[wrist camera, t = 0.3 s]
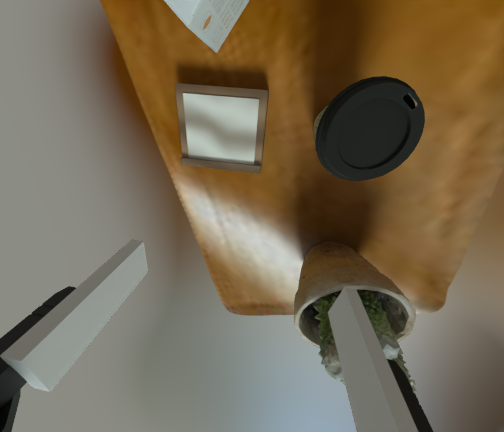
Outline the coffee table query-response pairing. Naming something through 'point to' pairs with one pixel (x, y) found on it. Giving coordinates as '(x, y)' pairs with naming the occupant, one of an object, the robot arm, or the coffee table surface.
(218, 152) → the tray
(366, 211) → the coffee table surface
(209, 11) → the small box
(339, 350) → the robot arm
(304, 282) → the potted plant
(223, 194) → the coffee table surface
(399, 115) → the coffee cup
